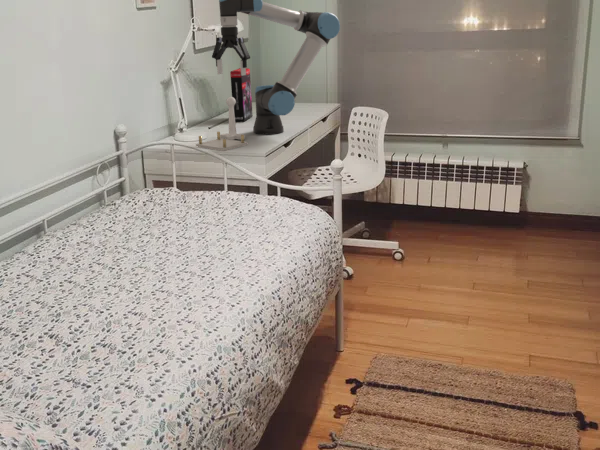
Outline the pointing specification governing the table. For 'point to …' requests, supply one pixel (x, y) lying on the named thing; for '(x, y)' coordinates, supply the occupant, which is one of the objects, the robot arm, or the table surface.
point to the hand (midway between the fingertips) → (231, 74)
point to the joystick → (231, 122)
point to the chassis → (221, 143)
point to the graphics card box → (241, 95)
